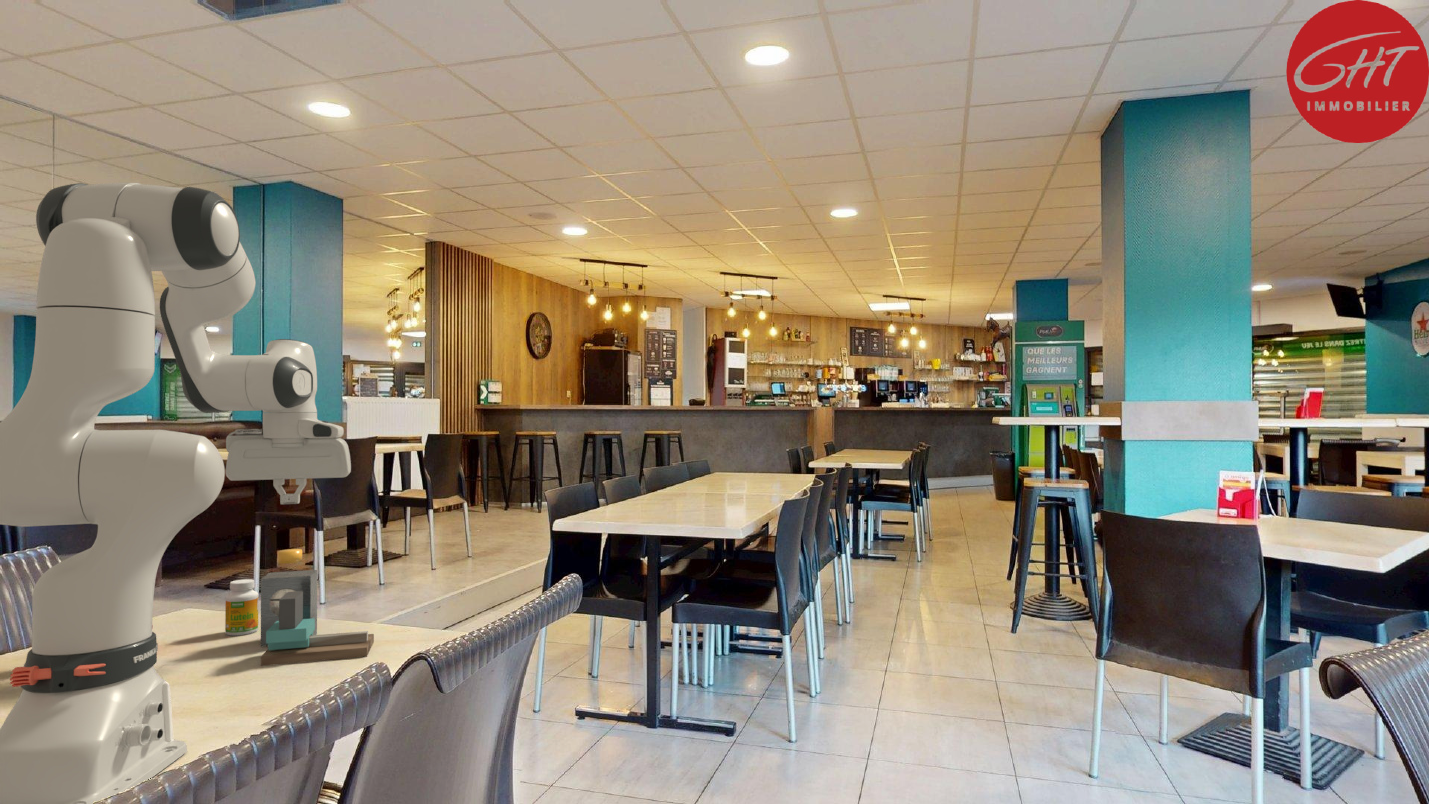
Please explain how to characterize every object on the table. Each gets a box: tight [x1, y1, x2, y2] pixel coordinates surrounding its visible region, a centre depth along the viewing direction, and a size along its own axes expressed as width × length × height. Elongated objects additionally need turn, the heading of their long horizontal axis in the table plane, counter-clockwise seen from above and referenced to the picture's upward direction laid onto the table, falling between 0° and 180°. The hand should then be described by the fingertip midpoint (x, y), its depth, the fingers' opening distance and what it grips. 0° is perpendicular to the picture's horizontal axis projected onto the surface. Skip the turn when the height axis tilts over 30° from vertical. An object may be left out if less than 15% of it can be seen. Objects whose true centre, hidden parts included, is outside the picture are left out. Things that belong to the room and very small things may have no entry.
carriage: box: [266, 591, 315, 650], centre depth 133 cm, size 7×6×8 cm
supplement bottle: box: [224, 578, 260, 637], centre depth 148 cm, size 5×5×10 cm
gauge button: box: [276, 548, 303, 565], centre depth 143 cm, size 4×4×2 cm
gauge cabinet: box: [260, 569, 318, 648], centre depth 142 cm, size 7×8×12 cm
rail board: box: [260, 630, 375, 667], centre depth 134 cm, size 9×16×3 cm, turn 107°
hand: (290, 503), depth 143 cm, fingers closed
